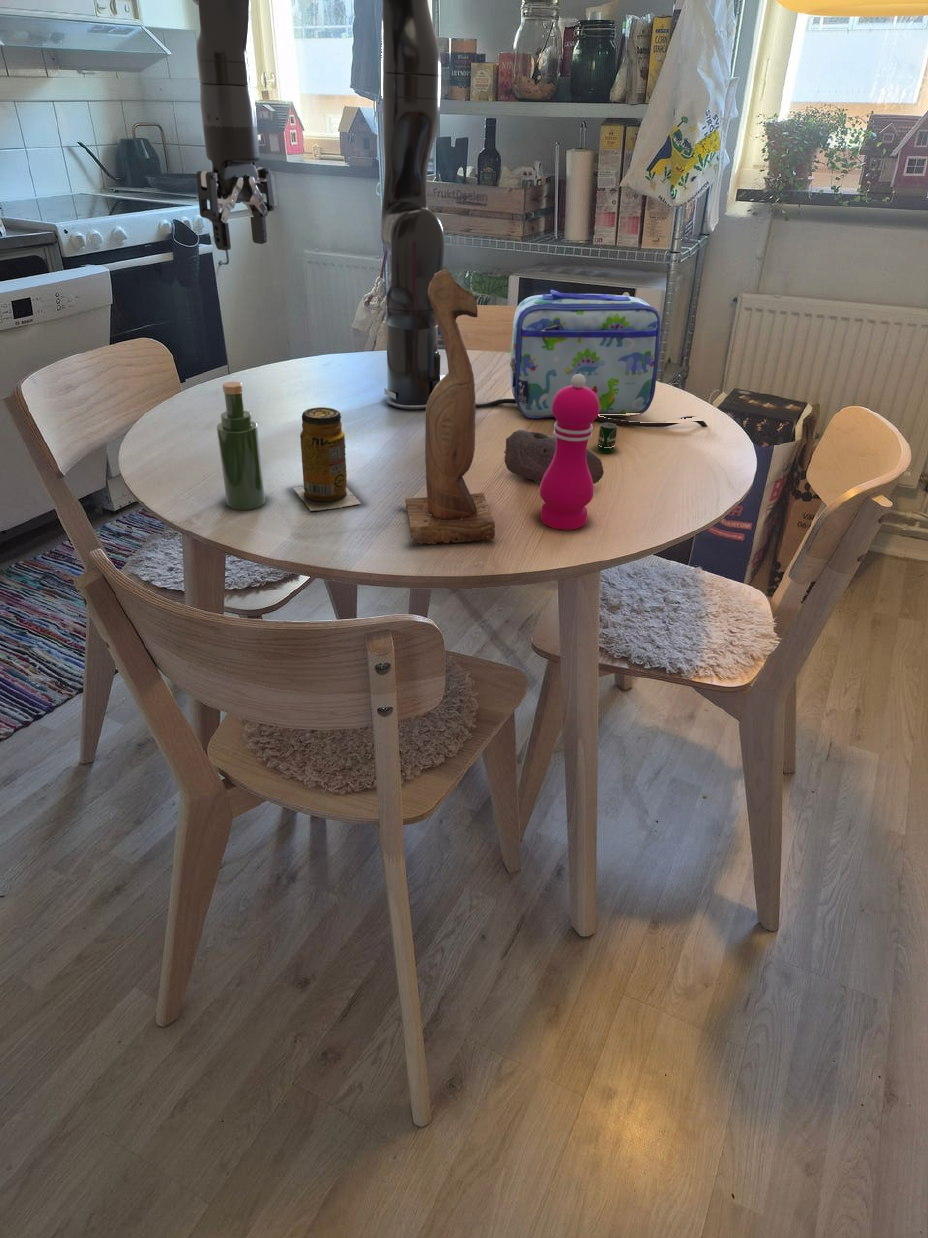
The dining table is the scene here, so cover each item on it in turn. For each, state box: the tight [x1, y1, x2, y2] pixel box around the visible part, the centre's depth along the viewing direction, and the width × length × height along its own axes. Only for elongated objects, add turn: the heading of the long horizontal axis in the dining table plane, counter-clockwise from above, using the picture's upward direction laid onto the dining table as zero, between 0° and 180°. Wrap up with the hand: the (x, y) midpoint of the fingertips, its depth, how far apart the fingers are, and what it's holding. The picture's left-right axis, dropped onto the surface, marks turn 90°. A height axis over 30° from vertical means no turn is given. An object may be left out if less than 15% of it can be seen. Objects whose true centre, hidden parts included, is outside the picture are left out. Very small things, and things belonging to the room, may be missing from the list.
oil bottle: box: [216, 381, 266, 511], centre depth 110 cm, size 5×5×16 cm
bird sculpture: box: [404, 268, 496, 547], centre depth 101 cm, size 11×12×32 cm
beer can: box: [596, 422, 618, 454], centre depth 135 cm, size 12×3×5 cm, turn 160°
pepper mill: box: [539, 374, 599, 531], centre depth 107 cm, size 7×7×20 cm
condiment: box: [293, 406, 361, 512], centre depth 113 cm, size 7×8×12 cm
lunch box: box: [509, 289, 662, 419], centre depth 146 cm, size 26×11×21 cm, turn 92°
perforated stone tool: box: [503, 429, 605, 485], centre depth 122 cm, size 15×5×7 cm, turn 66°
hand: (242, 246), depth 126 cm, fingers open, 8 cm apart
